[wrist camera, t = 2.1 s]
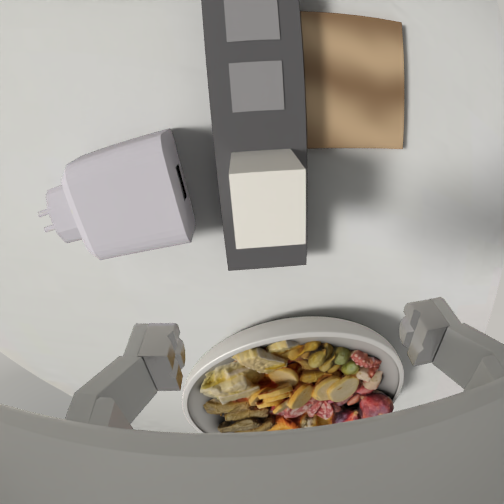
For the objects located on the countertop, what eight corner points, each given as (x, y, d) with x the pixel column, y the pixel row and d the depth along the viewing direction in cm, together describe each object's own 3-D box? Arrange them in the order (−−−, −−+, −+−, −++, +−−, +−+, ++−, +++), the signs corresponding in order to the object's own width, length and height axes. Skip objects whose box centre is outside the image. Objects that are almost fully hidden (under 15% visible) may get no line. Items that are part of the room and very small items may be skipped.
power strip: (202, -40, 17) (196, -57, 14) (287, -45, 17) (294, -61, 14) (229, 253, 31) (228, 275, 28) (300, 248, 31) (307, 269, 28)
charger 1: (38, 172, 26) (172, 126, 25) (68, 250, 31) (197, 222, 30) (12, 188, 22) (159, 135, 21) (49, 274, 27) (190, 246, 26)
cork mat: (298, 13, 20) (300, 11, 20) (397, 23, 20) (401, 22, 20) (305, 146, 26) (307, 148, 26) (398, 147, 26) (402, 148, 26)
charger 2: (231, 148, 25) (228, 174, 18) (287, 145, 25) (305, 169, 18) (236, 205, 27) (236, 249, 21) (289, 202, 27) (305, 243, 21)
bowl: (188, 426, 49) (185, 465, 42) (182, 292, 34) (171, 344, 27) (352, 426, 51) (361, 461, 44) (425, 304, 37) (452, 346, 30)
